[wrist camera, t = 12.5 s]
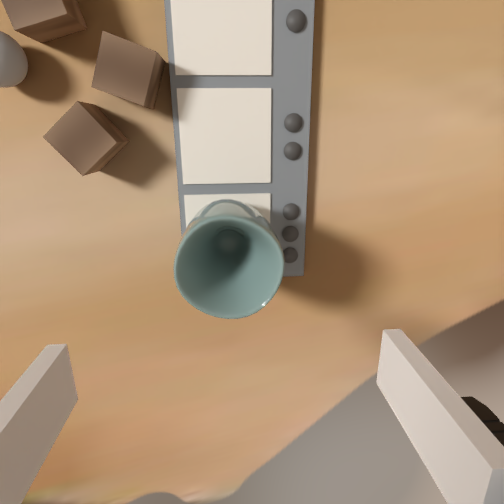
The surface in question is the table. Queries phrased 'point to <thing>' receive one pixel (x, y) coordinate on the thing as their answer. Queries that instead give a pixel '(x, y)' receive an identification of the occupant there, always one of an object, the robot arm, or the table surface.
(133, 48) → the walnut block
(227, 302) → the cup
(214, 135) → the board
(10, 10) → the walnut block
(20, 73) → the grey ball
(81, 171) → the walnut block
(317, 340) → the table surface
